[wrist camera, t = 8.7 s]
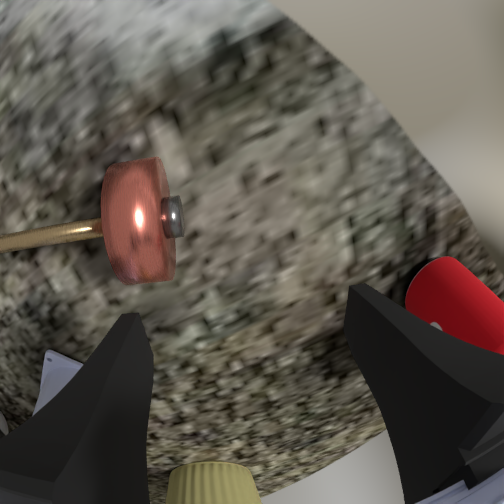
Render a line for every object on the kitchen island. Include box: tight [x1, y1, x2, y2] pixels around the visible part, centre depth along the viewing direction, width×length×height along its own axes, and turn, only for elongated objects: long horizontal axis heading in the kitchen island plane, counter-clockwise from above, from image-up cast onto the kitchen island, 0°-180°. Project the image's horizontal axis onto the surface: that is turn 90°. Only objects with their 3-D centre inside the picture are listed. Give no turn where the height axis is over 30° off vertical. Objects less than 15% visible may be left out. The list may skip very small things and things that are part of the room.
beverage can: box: [405, 257, 504, 355], centre depth 20 cm, size 6×6×12 cm
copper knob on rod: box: [0, 157, 184, 285], centre depth 15 cm, size 17×6×6 cm, turn 93°
